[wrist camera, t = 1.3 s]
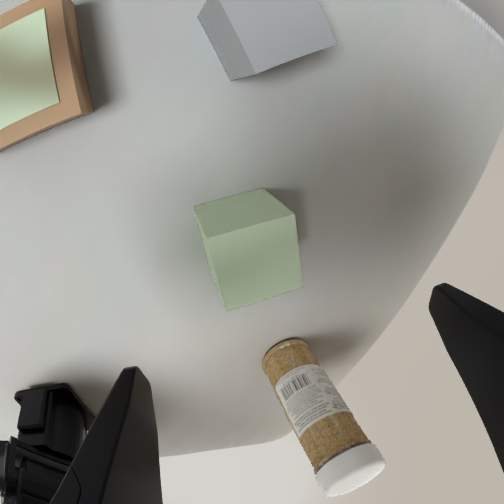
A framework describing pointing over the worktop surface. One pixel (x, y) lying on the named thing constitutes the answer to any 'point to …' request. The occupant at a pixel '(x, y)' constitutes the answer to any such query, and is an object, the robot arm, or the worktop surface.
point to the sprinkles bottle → (321, 420)
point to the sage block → (250, 247)
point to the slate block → (264, 32)
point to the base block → (40, 70)
